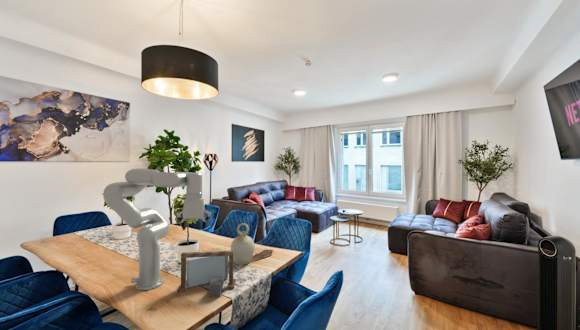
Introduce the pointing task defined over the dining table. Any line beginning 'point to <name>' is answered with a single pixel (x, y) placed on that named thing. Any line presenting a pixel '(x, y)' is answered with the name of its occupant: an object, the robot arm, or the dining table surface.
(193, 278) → the grey door panel
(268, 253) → the wooden fragment
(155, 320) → the dining table surface
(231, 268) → the door frame
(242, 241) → the jug
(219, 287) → the doorstop
